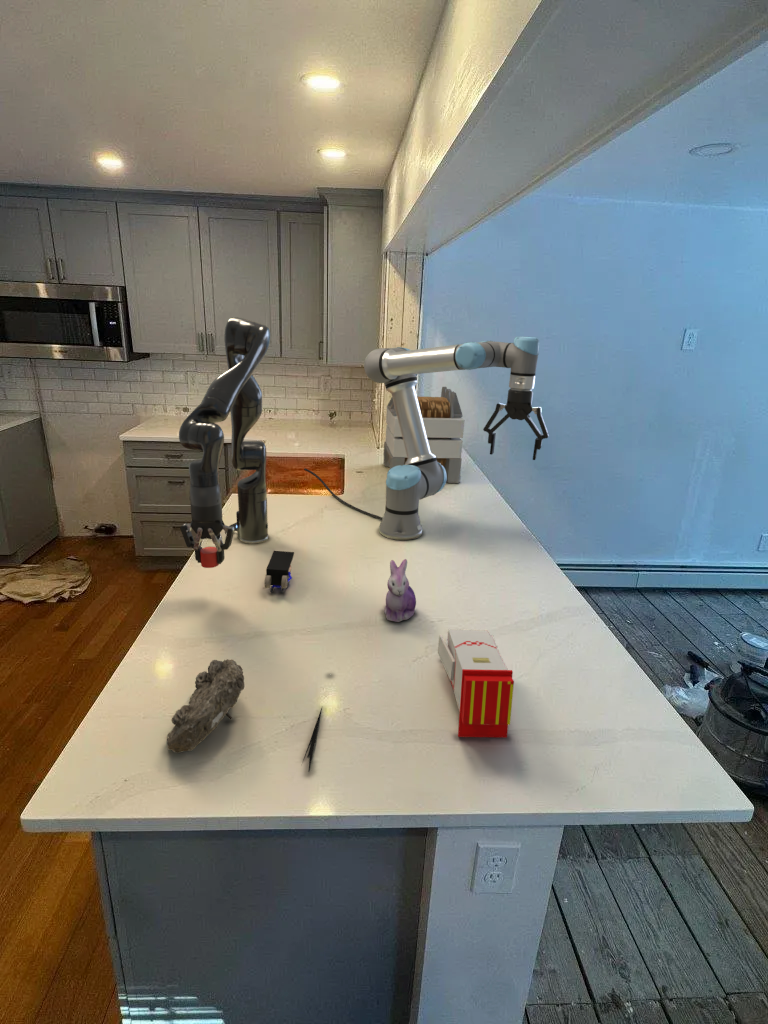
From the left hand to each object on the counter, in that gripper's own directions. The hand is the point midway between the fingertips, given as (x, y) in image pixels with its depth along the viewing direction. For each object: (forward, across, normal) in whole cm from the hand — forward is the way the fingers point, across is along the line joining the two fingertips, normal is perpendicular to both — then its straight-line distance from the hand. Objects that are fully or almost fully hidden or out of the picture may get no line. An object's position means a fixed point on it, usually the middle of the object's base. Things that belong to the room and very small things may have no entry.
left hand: (210, 562), depth 148 cm
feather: (+10, -36, +44) cm, 58 cm away
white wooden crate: (+11, -56, -133) cm, 145 cm away
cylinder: (+1, 0, 0) cm, 1 cm away
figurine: (+10, -50, +3) cm, 51 cm away
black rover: (+10, -16, -10) cm, 21 cm away
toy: (+10, -66, +33) cm, 74 cm away
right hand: (-21, -84, -47) cm, 98 cm away
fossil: (+10, -16, +46) cm, 50 cm away
